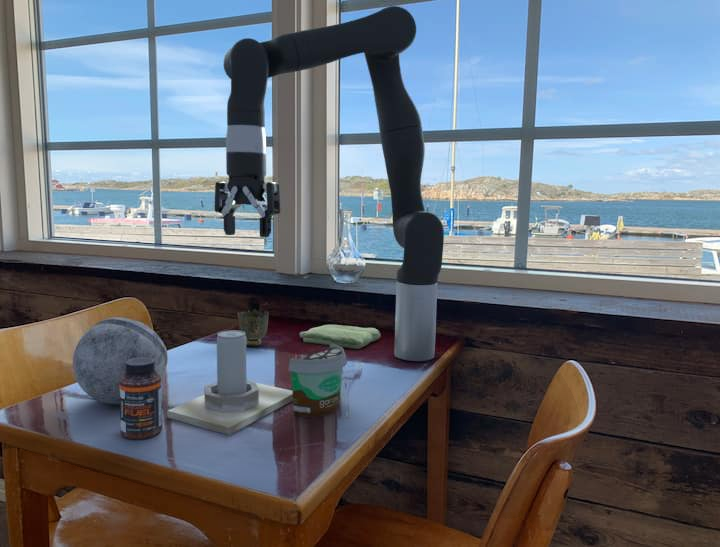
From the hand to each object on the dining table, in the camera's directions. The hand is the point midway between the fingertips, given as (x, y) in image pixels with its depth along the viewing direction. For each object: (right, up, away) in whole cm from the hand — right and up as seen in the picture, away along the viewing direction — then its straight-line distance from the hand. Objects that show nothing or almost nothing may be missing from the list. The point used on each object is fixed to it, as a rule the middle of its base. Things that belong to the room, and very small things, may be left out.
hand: (247, 235), depth 109 cm
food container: (+16, -31, -14) cm, 37 cm away
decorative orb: (-19, -30, -12) cm, 38 cm away
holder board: (+1, -30, -14) cm, 33 cm away
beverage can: (0, -29, -14) cm, 33 cm away
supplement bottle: (-11, -32, -24) cm, 41 cm away
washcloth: (+17, -25, +32) cm, 44 cm away
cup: (-4, -25, +26) cm, 36 cm away
